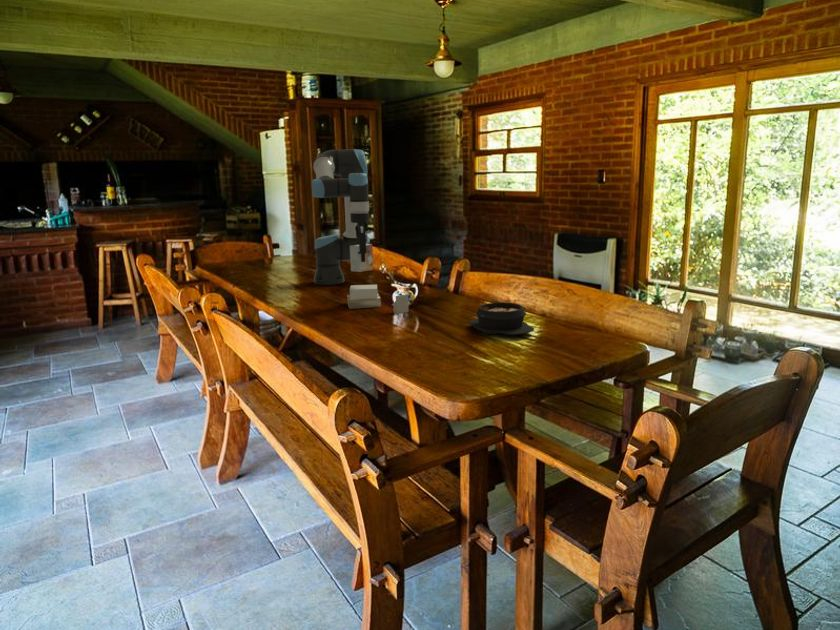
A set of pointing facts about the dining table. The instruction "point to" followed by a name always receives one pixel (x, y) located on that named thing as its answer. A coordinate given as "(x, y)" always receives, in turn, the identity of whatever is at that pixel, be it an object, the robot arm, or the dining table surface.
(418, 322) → the dining table surface
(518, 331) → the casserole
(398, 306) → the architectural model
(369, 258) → the small box
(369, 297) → the tower top slab
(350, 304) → the tower base slab
